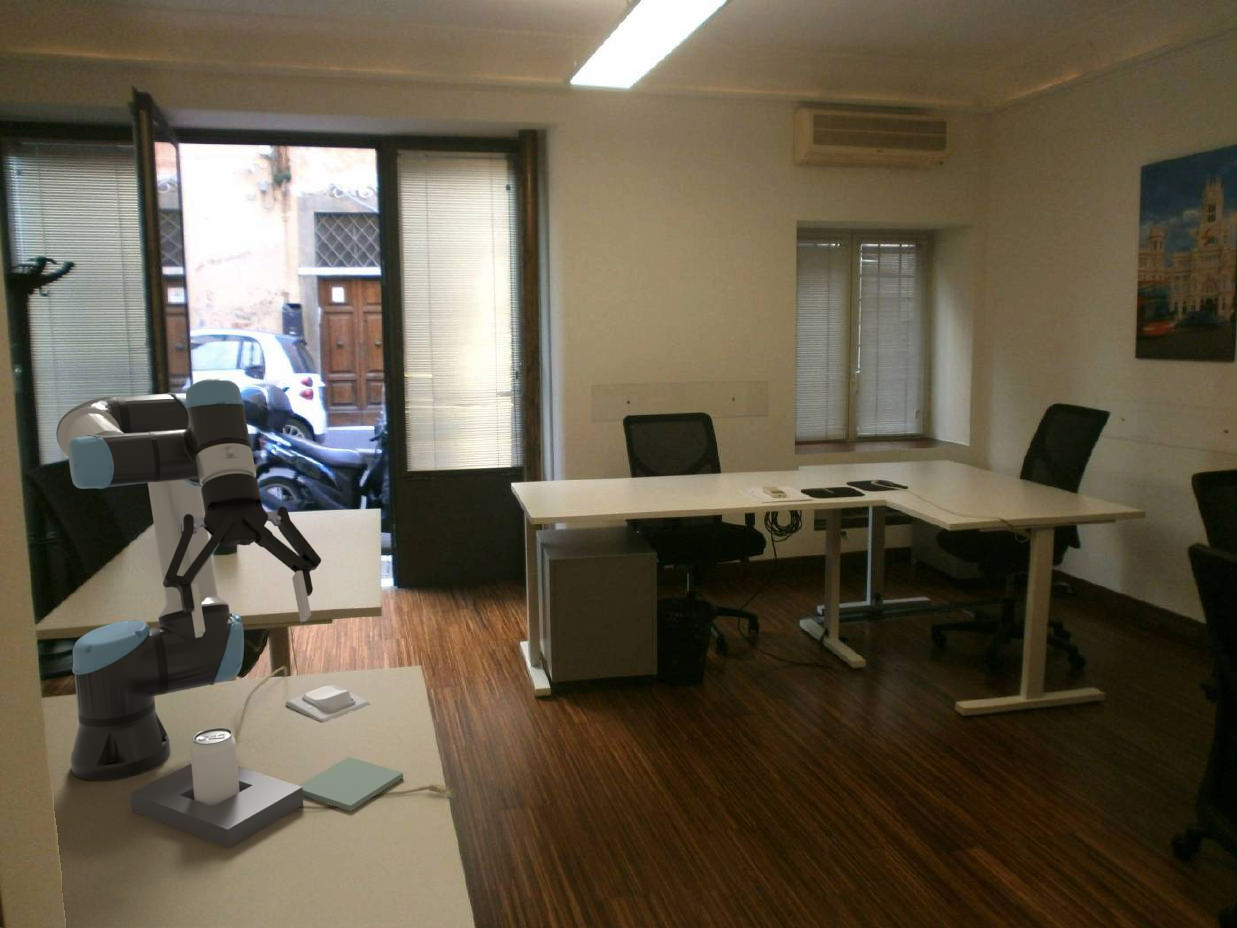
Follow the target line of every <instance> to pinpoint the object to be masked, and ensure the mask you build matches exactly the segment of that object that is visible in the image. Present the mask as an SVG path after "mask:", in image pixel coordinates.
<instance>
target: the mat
mask: <svg viewBox="0 0 1237 928" xmlns="http://www.w3.org/2000/svg"><path fill="white" fill-rule="evenodd" d="M400 779H401V780H403V779H404V773H403V772H401V771H398V770H395V769H392V768H388V767H385V766H381V765H378V764H374V763H370V762H368V761H364V760H361V759H358V758H355V757H354V758H353V757H351V756H348V757H346V758H344V759H343V760H341V761H339V762H337V763H335V764H333V765H331V766H330V767H328V768H326V769H324V770H323V771H321V772H319V773H317V774H315V775H314V776H312V777H310V778H308V779H307V780H305V781H303V782H301V783H300V784H298V786H301V787H302V790H303V795H304V796H303V797H305V796H306V798H308V797H309V799H311V798H312V799H311V800H314V801H318V802H320V803H323V802H325V803H324V804H326V803H329V804H332V805H335V806H338V807H339V809H342V810H345V811H347V810H348V812H351V813H352V810H353V811H354V810H356V809H357V808H359V807H361V806H362V805H364V804H365V803H367V802H368V801H370V800H371V799H372V798H371V797H372V796H373V795H375V794H377V793H379V792H381V793H383V792H384V791H386V790H387V789H389V788H390V787H392V786H393V784H394V783H395V784H396V782H397V781H398V782H400V781H401V780H400ZM399 780H400V781H399ZM398 782H397V783H398ZM395 784H394V785H395ZM388 787H389V788H388ZM386 788H387V789H386ZM385 789H386V790H385ZM383 790H384V791H383ZM382 791H383V792H382ZM379 794H380V793H379ZM370 798H371V799H370ZM369 799H370V800H369ZM367 800H368V801H367ZM366 801H367V802H366ZM364 802H365V803H364ZM363 803H364V804H363ZM329 804H328V805H329ZM332 805H331V806H332ZM335 806H334V807H335ZM338 807H337V808H338Z"/></svg>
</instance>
